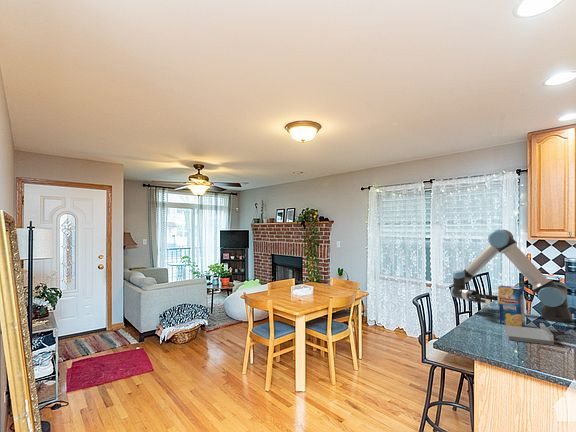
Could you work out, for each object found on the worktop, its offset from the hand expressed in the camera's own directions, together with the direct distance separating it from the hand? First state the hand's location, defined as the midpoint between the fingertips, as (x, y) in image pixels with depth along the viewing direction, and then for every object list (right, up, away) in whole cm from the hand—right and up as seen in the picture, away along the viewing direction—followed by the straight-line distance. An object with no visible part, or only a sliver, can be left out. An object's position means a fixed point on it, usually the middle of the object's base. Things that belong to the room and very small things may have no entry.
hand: (499, 301), depth 197 cm
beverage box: (+3, -12, -8) cm, 14 cm away
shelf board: (-5, -10, -30) cm, 32 cm away
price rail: (+2, -8, -34) cm, 35 cm away
